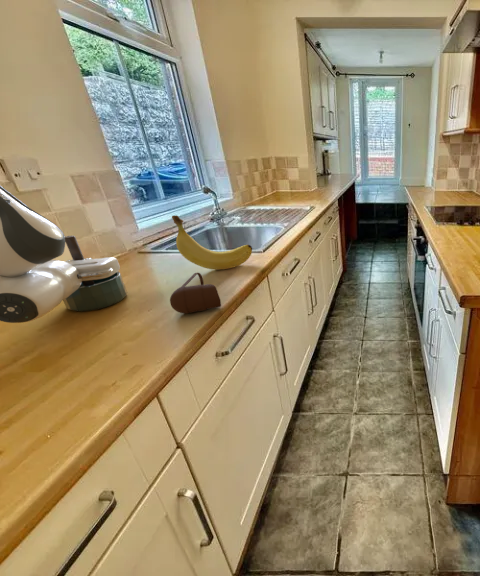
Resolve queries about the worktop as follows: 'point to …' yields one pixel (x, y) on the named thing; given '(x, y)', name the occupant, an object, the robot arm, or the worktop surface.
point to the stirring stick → (76, 254)
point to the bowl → (97, 294)
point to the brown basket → (195, 297)
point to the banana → (208, 251)
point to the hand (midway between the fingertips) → (81, 261)
